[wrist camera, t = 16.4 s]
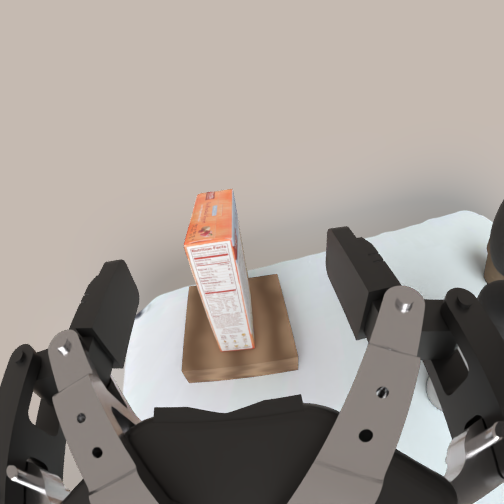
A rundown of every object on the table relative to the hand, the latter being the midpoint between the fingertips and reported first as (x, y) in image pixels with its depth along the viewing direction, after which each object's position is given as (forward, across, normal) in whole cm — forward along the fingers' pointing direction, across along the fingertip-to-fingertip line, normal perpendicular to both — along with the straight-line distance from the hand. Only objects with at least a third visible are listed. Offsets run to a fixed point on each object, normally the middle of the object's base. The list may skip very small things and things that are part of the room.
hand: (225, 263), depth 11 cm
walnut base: (+24, +3, +34) cm, 42 cm away
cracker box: (+24, +3, +30) cm, 38 cm away
